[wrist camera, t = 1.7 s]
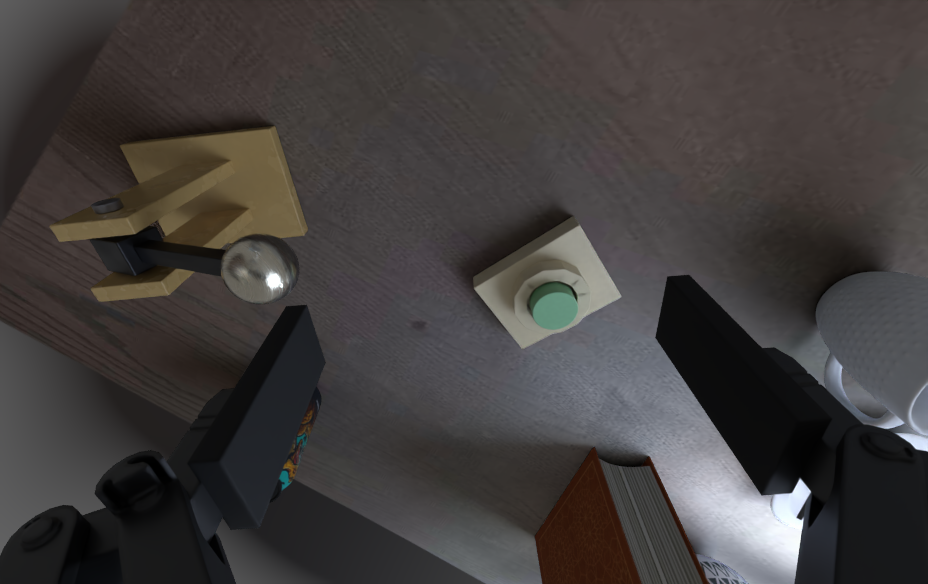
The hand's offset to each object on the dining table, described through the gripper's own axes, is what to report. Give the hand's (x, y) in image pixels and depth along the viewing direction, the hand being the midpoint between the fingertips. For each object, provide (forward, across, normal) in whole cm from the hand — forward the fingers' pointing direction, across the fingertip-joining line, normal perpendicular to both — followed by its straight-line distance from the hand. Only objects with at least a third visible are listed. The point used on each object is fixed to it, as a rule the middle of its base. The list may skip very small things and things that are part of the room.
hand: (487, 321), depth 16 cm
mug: (+23, +38, -18) cm, 48 cm away
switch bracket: (+23, -21, 0) cm, 31 cm away
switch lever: (+10, -15, 0) cm, 18 cm away
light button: (+19, +7, -12) cm, 24 cm away
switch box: (+23, +7, -12) cm, 27 cm away
